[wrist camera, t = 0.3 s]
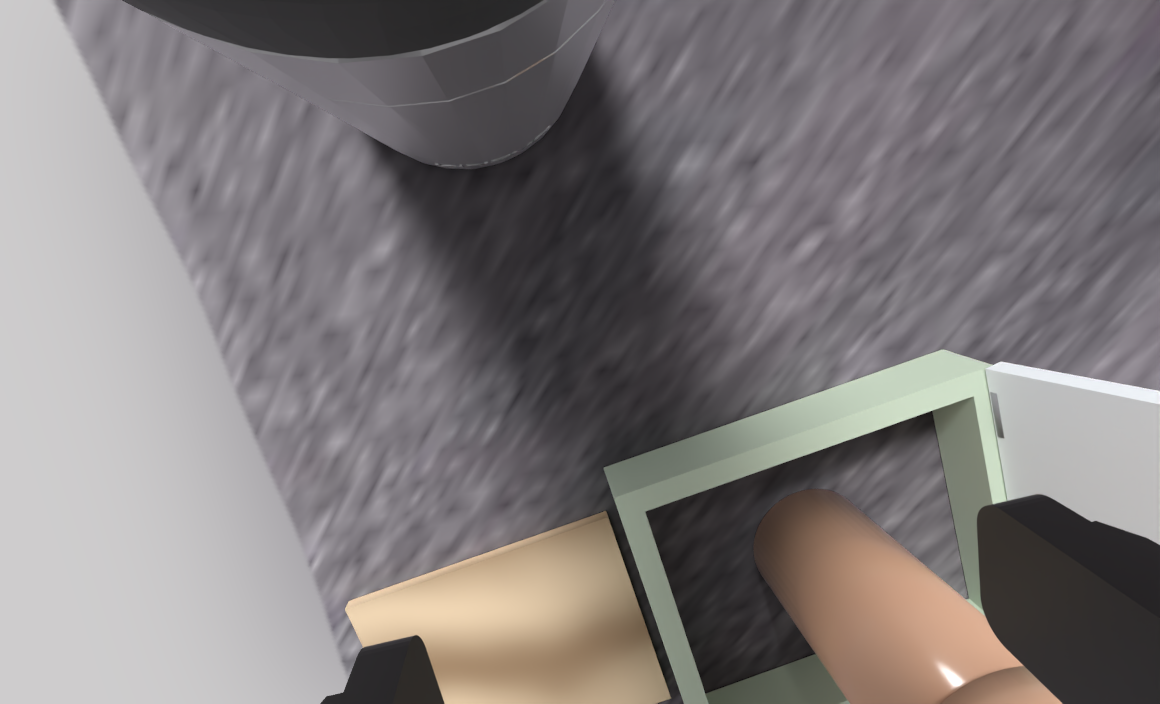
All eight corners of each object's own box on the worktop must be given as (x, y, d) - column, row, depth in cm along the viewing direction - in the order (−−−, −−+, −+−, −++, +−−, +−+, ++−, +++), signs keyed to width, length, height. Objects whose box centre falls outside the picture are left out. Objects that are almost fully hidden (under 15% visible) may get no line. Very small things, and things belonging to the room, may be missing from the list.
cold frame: (603, 467, 27) (613, 498, 24) (942, 349, 28) (993, 365, 25) (688, 717, 30) (707, 770, 28) (990, 608, 31) (1040, 649, 28)
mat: (348, 601, 27) (344, 609, 27) (606, 510, 28) (608, 517, 27) (431, 773, 30) (429, 785, 29) (667, 688, 30) (671, 698, 29)
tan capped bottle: (730, 507, 28) (930, 778, 15) (857, 462, 28) (1172, 689, 15) (763, 618, 30) (973, 960, 16) (883, 575, 30) (1192, 877, 16)
